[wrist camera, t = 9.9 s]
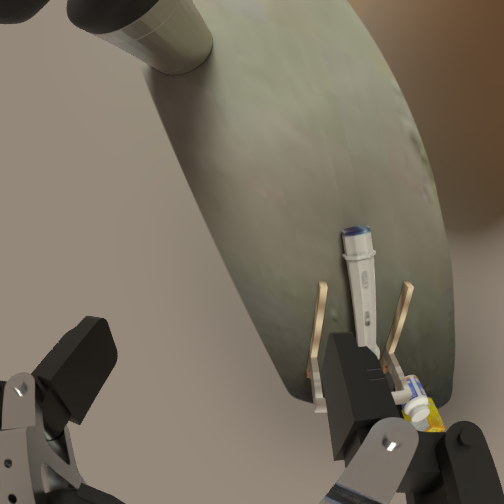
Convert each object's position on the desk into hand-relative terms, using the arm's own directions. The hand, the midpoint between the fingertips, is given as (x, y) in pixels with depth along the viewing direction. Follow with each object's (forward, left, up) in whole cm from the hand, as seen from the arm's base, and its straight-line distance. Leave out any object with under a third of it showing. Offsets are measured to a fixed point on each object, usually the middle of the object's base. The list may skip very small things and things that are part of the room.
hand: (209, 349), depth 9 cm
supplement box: (+44, +37, -29) cm, 64 cm away
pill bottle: (+36, +31, -29) cm, 56 cm away
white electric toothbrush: (+15, +16, -30) cm, 37 cm away
